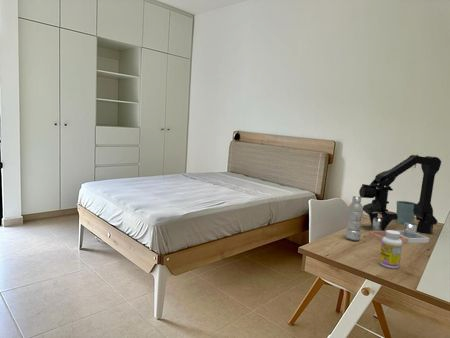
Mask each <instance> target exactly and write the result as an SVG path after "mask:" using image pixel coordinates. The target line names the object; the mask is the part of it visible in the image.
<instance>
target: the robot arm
mask: <svg viewBox="0 0 450 338" xmlns="http://www.w3.org/2000/svg"><path fill="white" fill-rule="evenodd" d="M417 164H418V165H421V167H420V168H421V170H422V171H421V172H422V173H423V175H422V181H421V188H420V189H421V190H420V196H419V200H418V202H417V203H416V204H414V209H413V211H414V215H415V218H416V220H417V221H418V222H417V224H416V225H417V229H416V233H418V234H426V235H431V234H433V235H435V234H434V233H433V231H434V230H433V229H434V225H435V226H436V225H437V223H438V220H437V218H436V217H435V216H434V209H433V206H432V203H431V202H432V196H433V190H434V184H435V177H436V175H437V173H438V172H439V170H440V169H441V165H442V160H441V158H439V157H437V156H431V155H427V156H420V155H417V154H411V155H410V156H408V157H407V158H406V159H405V160H403V161H400V163H398V164H397V165H395V166H394V167H391V168H390V169H388V170H385V171H382V172H380V173H377V174H376V175H375V177H374V179H373V180H372V181H371V183H369V184H364V183H362V184H361V186H360V188H359V191H358V193H359V197H361V199H362V198H365V199H372V200H371V202H370V203H367V204H365V205H362V207H363V213H366V214H367V215H368V217H369V220H370V224H371V226H372V225H373V217H378V216H379V215H381V217H380V219H381V220H382V225H381V230H382V231H386V229H387V227H388V225H389V224H390V223H391V222H392V221H395V220H397V218H398V215H397V214H396V213H397V212H396V213H395V212H392V211H389V209H387V208H388V206H387V205H388V204H390V201H388V197H389V191H392V192H393V191H394V188H392V187H391V184H392V183H394V182H395V180H396V179H397V178H398V176H400V175H402V174H403V173H405V172H407V170H409V169H411V168H412V167H414V166H415V165H417Z"/></svg>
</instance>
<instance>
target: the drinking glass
mask: <svg viewBox="0 0 450 338" xmlns="http://www.w3.org/2000/svg"><path fill="white" fill-rule="evenodd" d="M414 204H417V203H416V202H413V201H407V200H396V214H397V215H398V218H397V220H396V223H398V224H400V225H404V224H405V223H413V224H415V218H416V216H415V215H414V211H413V209H414Z"/></svg>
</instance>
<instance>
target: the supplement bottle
mask: <svg viewBox="0 0 450 338" xmlns="http://www.w3.org/2000/svg"><path fill="white" fill-rule="evenodd" d="M385 231H386V237H383V239H382V242H381V245H380V254H379V255H380V256H379V264H380V265H381V266H383V267H386V268H389V269H398V268H399V267H400V265H401V256H402V248H403V244H402V241H401V240H400V239H399V237H400V232H397V231H398V230H393V229H392V230H391V229H388V230H385Z"/></svg>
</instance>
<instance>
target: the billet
mask: <svg viewBox="0 0 450 338" xmlns="http://www.w3.org/2000/svg"><path fill="white" fill-rule="evenodd" d="M417 225H418V224H415V223H405V224H403V231H404V233H403V236H405V237H407V238H415V237H416V233H417Z"/></svg>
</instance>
